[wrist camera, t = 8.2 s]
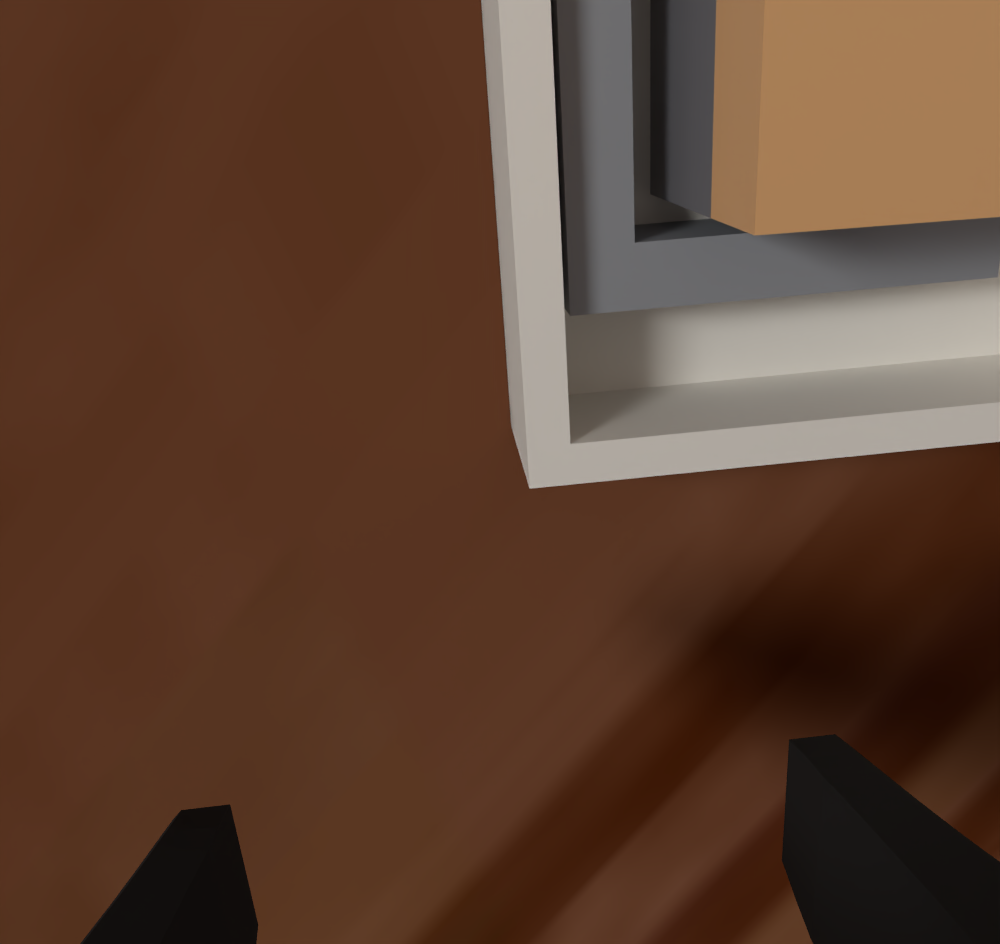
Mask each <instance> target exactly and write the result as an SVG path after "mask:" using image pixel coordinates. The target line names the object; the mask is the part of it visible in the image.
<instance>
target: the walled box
mask: <svg viewBox="0 0 1000 944" xmlns="http://www.w3.org/2000/svg"><path fill="white" fill-rule="evenodd" d="M481 5H482V19H483V33H484V47H485V61H486V75H487V89H488V104H489V118H490V132H491V146H492V160H493V174H494V188H495V203H496V217H497V231H498V245H499V259H500V273H501V287H502V302H503V316H504V330H505V344H506V358H507V372H508V386H509V401H510V415H511V427H512V431H513V434H514V437H515V441H516V444H517V448H518V451H519V454H520V458H521V461H522V465H523V468H524V471H525V475H526V478H527V481H528V485H529V488H540V487H550V486H560V485H570V484H580V483H590V482H600V481H610V480H620V479H630V478H640V477H650V476H660V475H670V474H680V473H690V472H700V471H710V470H720V469H730V468H740V467H750V466H760V465H770V464H780V463H790V462H800V461H810V460H820V459H830V458H840V457H850V456H860V455H870V454H880V453H890V452H900V451H910V450H921V449H931V448H941V447H951V446H961V445H971V444H981V443H991V442H1000V217H991V218H978V219H965V220H951V221H938V222H925V223H912V224H899V225H886V226H873V227H860V228H847V229H833V230H820V231H807V232H794V233H781V234H768V235H752V234H750V233H747V232H744V231H742V230H739V229H737V228H734V227H732V226H729V225H727V224H724V223H722V222H719V221H717V220H714V219H712V218H709V217H706V216H704V215H701V214H699V213H696V212H694V211H691V210H689V209H686V208H684V207H681V206H679V205H676V204H674V203H671V202H669V201H666V200H663V199H661V198H658V197H656V196H653V195H651V194H650V0H481Z"/></svg>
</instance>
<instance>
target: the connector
mask: <svg viewBox="0 0 1000 944" xmlns="http://www.w3.org/2000/svg"><path fill="white" fill-rule="evenodd" d="M650 194H651V195H653V196H656V197H658V198H661V199H663V200H666V201H669V202H671V203H674V204H676V205H679V206H681V207H684V208H686V209H689V210H691V211H694V212H696V213H699V214H701V215H704V216H706V217H709V218H712V219H714V220H717V221H719V222H722V223H724V224H727V225H729V226H732V227H734V228H737V229H739V230H742V231H744V232H747V233H750V234H752V235H768V234H781V233H794V232H807V231H820V230H833V229H847V228H860V227H873V226H886V225H899V224H912V223H925V222H938V221H951V220H965V219H978V218H991V217H1000V0H650Z"/></svg>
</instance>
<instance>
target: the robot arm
mask: <svg viewBox="0 0 1000 944" xmlns="http://www.w3.org/2000/svg"><path fill="white" fill-rule="evenodd" d="M782 862H783V864H784V867H785V870H786V873H787V876H788V878H789V881H790V884H791V887H792V890H793V892H794V895H795V898H796V901H797V904H798V906H799V909H800V911H801V914H802V917H803V919H804V922H805V924H806V927H807V930H808V932H809V935H810V938H811V940H812V942H813V944H1000V862H999V861H998V860H996V859H995V858H994V857H992V856H991V855H989V854H988V853H987V852H985V851H984V850H982V849H981V848H980V847H978V846H977V845H976V844H974V843H973V842H972V841H970V840H969V839H968V838H966V837H965V836H964V835H962V834H961V833H960V832H958V831H957V830H956V829H954V828H953V827H952V826H950V825H949V824H948V823H946V822H945V821H944V820H943V819H941V818H940V817H939V816H937V815H936V814H935V813H934V812H932V811H931V810H930V809H928V808H927V807H926V806H925V805H923V804H922V803H921V802H919V801H918V800H917V799H916V798H914V797H913V796H912V795H911V794H909V793H908V792H907V791H906V790H904V789H903V788H902V787H901V786H899V785H898V784H897V783H896V782H894V781H893V780H892V779H891V778H889V777H888V776H887V775H886V774H884V773H883V772H882V771H881V770H879V769H878V768H877V767H876V766H874V765H873V764H872V763H871V762H869V761H868V760H867V759H866V758H864V757H863V756H862V755H861V754H860V753H858V752H857V751H856V750H855V749H853V748H852V747H851V746H849V745H848V744H847V743H846V742H844V741H843V740H842V739H841V738H839V737H838V736H837V735H835V734H834V735H825V736H817V737H808V738H799V739H791V740H789V753H788V769H787V786H786V803H785V819H784V836H783V853H782ZM257 930H258V922H257V918H256V914H255V909H254V905H253V901H252V896H251V892H250V888H249V884H248V879H247V875H246V871H245V867H244V862H243V858H242V854H241V849H240V845H239V841H238V837H237V832H236V828H235V824H234V820H233V815H232V811H231V807H230V805H222V806H214V807H205V808H196V809H188V810H181V811H180V812H179V813H178V815H177V816H176V817H175V818H174V819H173V821H172V822H171V823H170V825H169V826H168V827H167V829H166V830H165V831H164V833H163V834H162V835H161V837H160V838H159V840H158V841H157V842H156V844H155V845H154V847H153V848H152V849H151V851H150V852H149V853H148V855H147V856H146V858H145V859H144V860H143V862H142V863H141V864H140V866H139V867H138V869H137V870H136V871H135V873H134V874H133V875H132V877H131V878H130V879H129V881H128V882H127V883H126V885H125V886H124V887H123V889H122V890H121V892H120V893H119V894H118V896H117V897H116V898H115V900H114V901H113V902H112V904H111V905H110V906H109V908H108V909H107V910H106V911H105V913H104V914H103V915H102V917H101V918H100V919H99V920H98V922H97V923H96V924H95V926H94V927H93V928H92V929H91V931H90V932H89V933H88V935H87V936H86V937H85V938H84V940H83V941H82V942H81V944H256V940H257Z"/></svg>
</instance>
